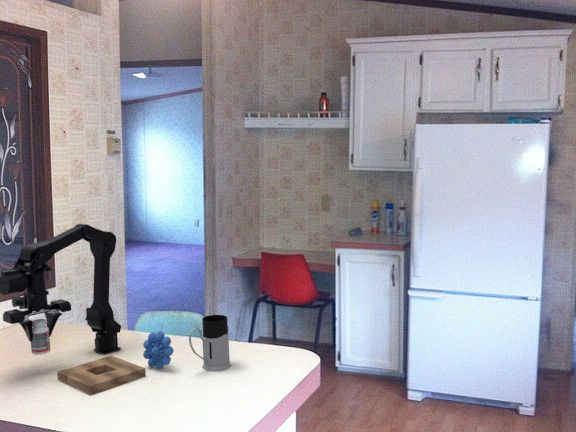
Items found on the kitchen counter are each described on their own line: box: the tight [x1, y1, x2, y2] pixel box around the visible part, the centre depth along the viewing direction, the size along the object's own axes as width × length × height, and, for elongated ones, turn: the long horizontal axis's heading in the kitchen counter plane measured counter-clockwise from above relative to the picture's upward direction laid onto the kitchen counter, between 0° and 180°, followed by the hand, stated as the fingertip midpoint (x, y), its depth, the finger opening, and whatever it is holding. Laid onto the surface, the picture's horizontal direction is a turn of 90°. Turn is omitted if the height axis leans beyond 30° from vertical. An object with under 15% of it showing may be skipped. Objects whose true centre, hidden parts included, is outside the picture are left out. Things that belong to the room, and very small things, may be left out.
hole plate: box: [56, 355, 147, 396], centre depth 192 cm, size 18×18×2 cm
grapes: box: [142, 330, 174, 370], centre depth 198 cm, size 12×7×12 cm, turn 58°
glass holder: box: [188, 314, 232, 372], centre depth 196 cm, size 9×14×15 cm, turn 137°
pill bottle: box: [30, 318, 51, 356], centre depth 196 cm, size 5×5×10 cm
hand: (40, 339), depth 196 cm, fingers closed on pill bottle, 5 cm apart
